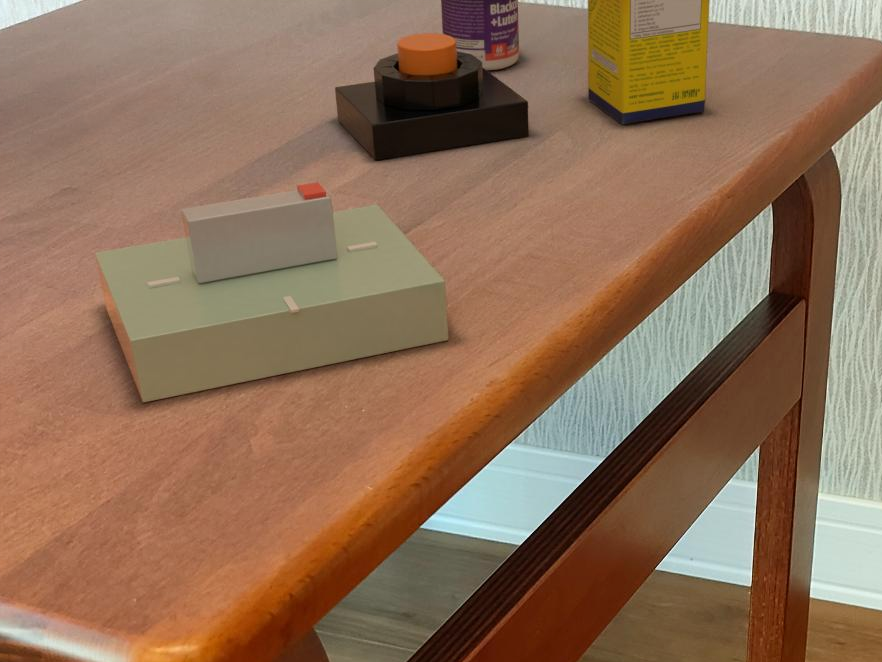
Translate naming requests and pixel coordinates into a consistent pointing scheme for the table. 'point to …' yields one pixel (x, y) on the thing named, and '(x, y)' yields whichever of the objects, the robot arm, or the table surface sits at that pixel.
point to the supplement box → (647, 57)
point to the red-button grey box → (260, 233)
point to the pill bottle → (484, 29)
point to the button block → (430, 109)
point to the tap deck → (270, 309)
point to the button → (427, 54)
